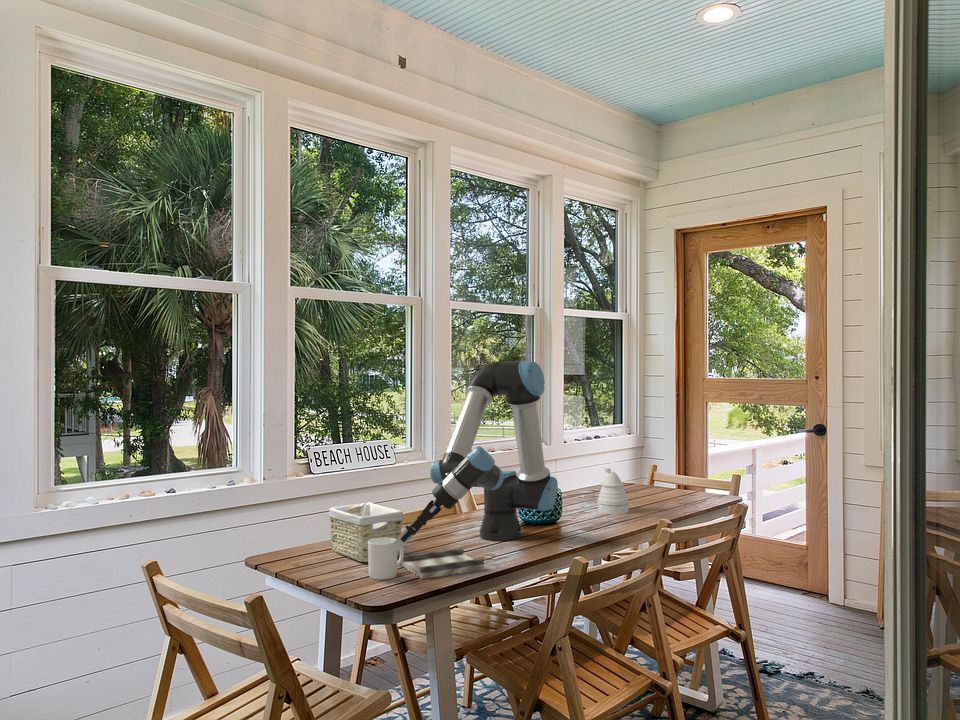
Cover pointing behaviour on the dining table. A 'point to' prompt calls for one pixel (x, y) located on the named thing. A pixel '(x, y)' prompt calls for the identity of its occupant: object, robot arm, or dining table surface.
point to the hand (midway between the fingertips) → (399, 542)
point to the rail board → (441, 563)
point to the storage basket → (362, 527)
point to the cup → (383, 558)
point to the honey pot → (612, 495)
